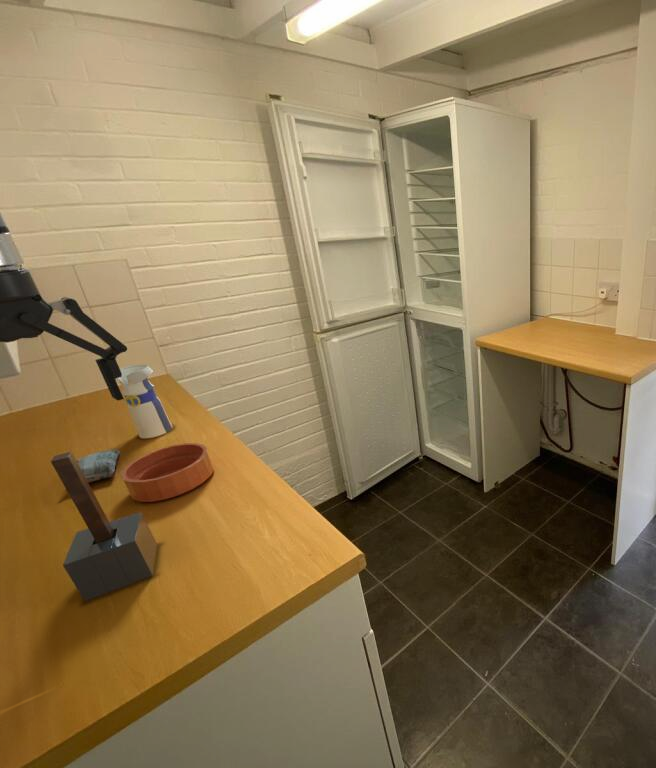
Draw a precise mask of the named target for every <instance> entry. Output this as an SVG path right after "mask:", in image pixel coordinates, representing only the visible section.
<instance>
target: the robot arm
mask: <svg viewBox="0 0 656 768" xmlns="http://www.w3.org/2000/svg"><path fill="white" fill-rule="evenodd" d="M24 263H25V260H24V258H23V256H22V254H21V252H20V249H19V248H18V246H17V244H16V242H15V240H14V238H13V236H12V233H11V232H10V229H9V227H7V223H6V221H5V220H4V218H3V215H2V213H1V212H0V343H5V344H6V343H12V342H15V341H18V340H22V339H33V338H39V336H40V335H42V334H43V333H44V332H45V333H48V334H50V335H52V336H54V337H56V338H59V339H61V340H64V341H65V342H67V343H70V344H72V345H75V346H77V347H79V348H80V349H82V350H84V351H85V350H86V351H88V352H90V353H92V354H95V355H97V356H99V357H100V358H98V359H95V363H96V365H97V367H98V369H99V371H100V374H101V375H102V378H103V380H104V383H105V384H106V386H107V389H108V391H109V393H110V395H111V397H112V399H114V400H116V401H118V402H119V401H122V400H125V397H124V395H122V390H120V389H121V388H120V386H119V385H118V382H117V378H119V377H121V376H122V373H121V371H120V369H121V368H120V366H119V364H118V361H117V360H116V359H117V356H118V355H120V354H122V353H126V352H127V351H128V347H127V346H126V345H125V344H124V343H122V342H121V341H120V340H119V339H117V338H116V337H115V336H114V335H112V334H111V333H110V332H108V331H107V330H106V329H105V328H104V327H103V326H101V325H100V324H99V323H97V322H96V321H95V320H93V319H92V318H91V317H90V316H89V315H87V314H86V313H85V312H84V311H83V309H82V308H81V306H80V305H79V303H78V301H77V300H76V299H74V298H71V297H68V296H64V297H61V299H59V300H55V301H50V302H47V301H46V300H44V298H43V297H42V295H41V292H40V291H39V288H38V287H37V285H36V282H35V280H34V278H33V277H32V274H31V272H30V270H28V269H27V268H25V267H24V268H23V267H21V265H23V264H24ZM54 311H58V312H59V313H60V314H63V315H66V316H70V317H71V318H73V320H75V321H76V322H78V323H79V324H81V325H82V326H83V327H84V328H85V329H87V330H88V331H89V332H91V333H92V334H93V335H94V336H96V337H97V338H98V339H100V340H101V341H102V342H104V343H105V344H106V345H108V346H109V347H107V348H103V347H101V346H99V345H97V344H95V343H93V342H90V341H88V340H86V339H84V338H82V337H80V336H77V335H75V334H73V333H71V332H69V331H68V330H65V329H62V328H61V327H58V326H56V325H54V324H52V323H50V322H49V321H50V319H51V317H52V315H53V313H54ZM115 379H116V380H115Z"/></svg>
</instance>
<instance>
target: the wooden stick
mask: <svg viewBox="0 0 656 768" xmlns="http://www.w3.org/2000/svg"><path fill="white" fill-rule="evenodd" d="M50 463H51V465H52V466H53V469H54V470H55V472H56V474H57V476H58V477H59V479H60V481H61V483H62V485H63V487H64V488H65V490H66V491H67V493H68V496H69V497H70V498H71V500H72V502H73V505H75V507H76V509H77V511H78V513H79V515H80V517H81V518H82V520H83V522H84V523H85V526H86V527H87V529H89V530H90V532H91V534H92V536H93V538H94V539H95V541H96V543H97V544H98V543H101V542H104V541H107V540H110V539H113V538H115V535H116V534H115V532H114V530H113V528H112V526H111V525H110V523H109V522H110V521H109V519H108V516H107V515H106V513H105V511H104V510H103V508H102V506H101V504H100V502H99V501H98V498H97V497H96V495H95V493H94V490H93V489H92V487H91V485H90V484H89V483H90V482H89V483H88V481H87V480H86V478H85V476H84V474H83V472H82V470H81V468H80V467H79V465H78V463H77V459H76V457H75V455H74V454H73V452H72V451H68V452H65V453H64V452H63V453H60V454H56V455H54V456H53V457H52V459H51V461H50Z"/></svg>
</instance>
